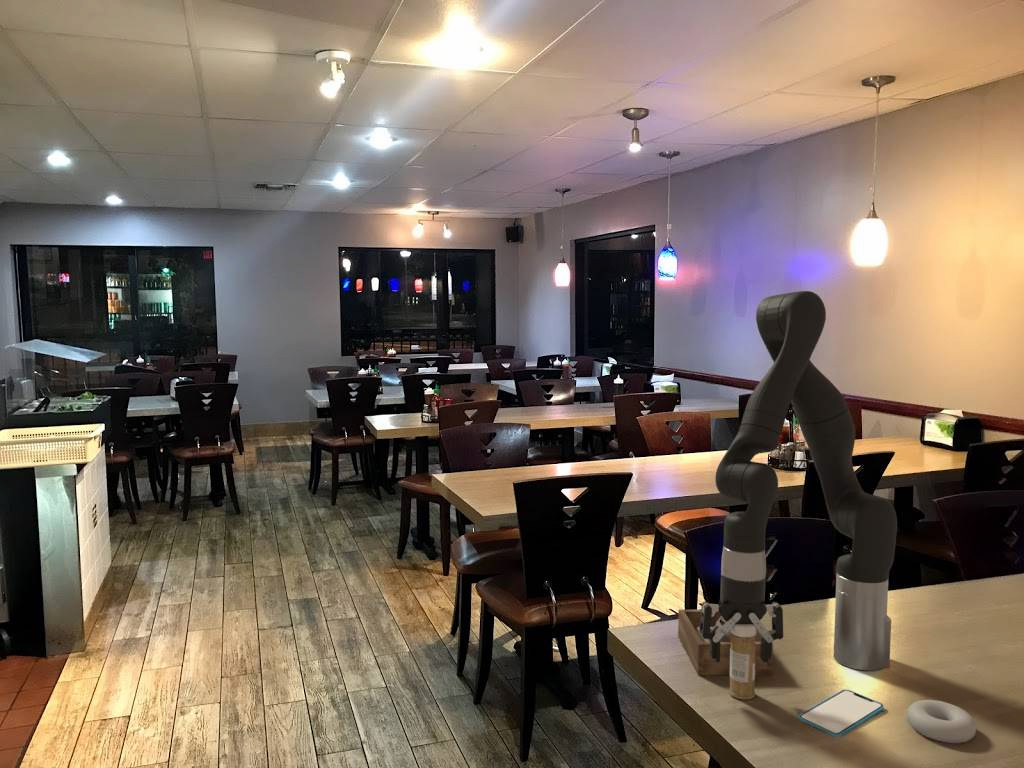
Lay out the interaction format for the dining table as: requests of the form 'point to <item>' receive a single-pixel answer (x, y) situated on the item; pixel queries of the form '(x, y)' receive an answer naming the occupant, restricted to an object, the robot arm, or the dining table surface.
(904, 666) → the dining table surface
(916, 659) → the dining table surface
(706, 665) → the caddy
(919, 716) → the donut
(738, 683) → the sprinkles bottle
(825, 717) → the smartphone
